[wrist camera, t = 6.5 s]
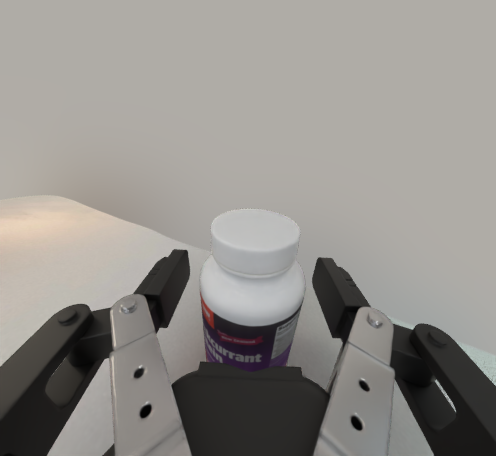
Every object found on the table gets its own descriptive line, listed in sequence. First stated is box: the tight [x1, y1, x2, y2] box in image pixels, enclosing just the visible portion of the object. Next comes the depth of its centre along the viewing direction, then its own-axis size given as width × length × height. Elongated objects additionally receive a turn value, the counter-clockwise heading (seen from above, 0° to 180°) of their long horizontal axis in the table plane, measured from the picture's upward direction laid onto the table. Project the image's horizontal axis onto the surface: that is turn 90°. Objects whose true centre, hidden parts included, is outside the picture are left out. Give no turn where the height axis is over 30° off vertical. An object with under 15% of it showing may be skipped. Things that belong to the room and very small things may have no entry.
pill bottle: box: [200, 208, 306, 372], centre depth 11 cm, size 5×5×10 cm
